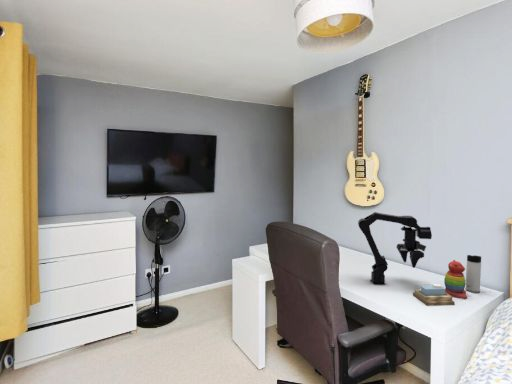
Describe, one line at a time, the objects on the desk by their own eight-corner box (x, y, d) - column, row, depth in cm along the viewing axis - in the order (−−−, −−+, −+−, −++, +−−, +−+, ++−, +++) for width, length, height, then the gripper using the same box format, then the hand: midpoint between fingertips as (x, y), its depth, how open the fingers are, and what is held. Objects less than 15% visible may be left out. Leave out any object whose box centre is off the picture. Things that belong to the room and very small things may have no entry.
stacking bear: (467, 300, 149) (469, 265, 147) (444, 295, 154) (445, 262, 153) (465, 292, 158) (467, 260, 157) (443, 288, 163) (444, 257, 162)
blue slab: (425, 298, 148) (425, 287, 147) (420, 295, 152) (421, 283, 151) (444, 298, 148) (445, 286, 147) (439, 295, 152) (440, 283, 151)
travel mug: (467, 292, 158) (469, 256, 156) (464, 287, 164) (465, 252, 162) (481, 294, 155) (483, 257, 154) (477, 289, 161) (479, 253, 160)
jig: (426, 305, 144) (426, 298, 143) (412, 295, 156) (413, 288, 155) (454, 304, 144) (454, 297, 144) (438, 294, 156) (438, 287, 156)
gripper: (434, 242, 157) (433, 270, 158) (414, 234, 176) (413, 259, 177) (413, 242, 157) (413, 270, 158) (396, 234, 175) (395, 259, 177)
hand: (409, 264), depth 168 cm, fingers open, 9 cm apart
